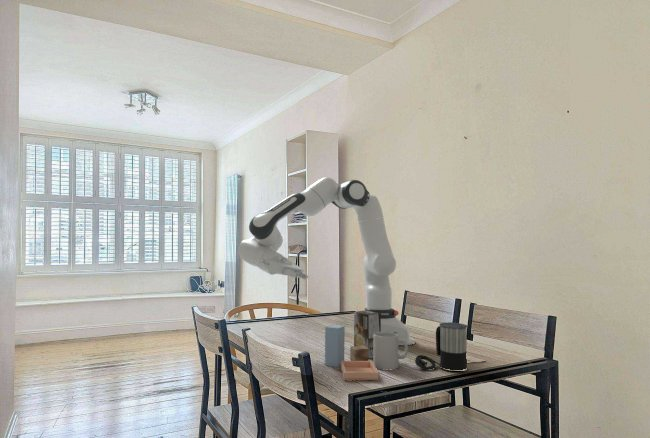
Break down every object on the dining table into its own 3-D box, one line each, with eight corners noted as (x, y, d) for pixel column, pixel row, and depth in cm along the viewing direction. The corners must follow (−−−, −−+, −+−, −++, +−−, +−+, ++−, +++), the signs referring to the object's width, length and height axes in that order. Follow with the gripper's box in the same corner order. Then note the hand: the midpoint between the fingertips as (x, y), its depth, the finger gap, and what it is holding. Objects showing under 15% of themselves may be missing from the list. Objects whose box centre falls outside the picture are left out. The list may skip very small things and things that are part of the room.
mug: (376, 370, 147) (376, 337, 148) (370, 363, 156) (370, 332, 156) (411, 370, 149) (411, 336, 149) (404, 363, 157) (404, 331, 158)
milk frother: (473, 370, 149) (473, 325, 150) (442, 377, 140) (442, 330, 141) (440, 360, 161) (440, 319, 162) (409, 367, 152) (409, 323, 153)
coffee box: (381, 356, 166) (381, 313, 167) (368, 359, 162) (368, 314, 163) (365, 351, 173) (365, 310, 174) (352, 353, 170) (353, 311, 171)
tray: (372, 368, 150) (372, 360, 150) (378, 380, 136) (378, 372, 136) (340, 368, 149) (340, 360, 150) (343, 380, 136) (343, 372, 136)
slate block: (331, 361, 158) (331, 324, 159) (344, 363, 156) (344, 326, 156) (324, 365, 153) (325, 327, 154) (337, 367, 151) (338, 328, 152)
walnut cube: (363, 359, 162) (363, 345, 162) (368, 363, 157) (368, 348, 157) (350, 360, 160) (350, 346, 161) (355, 364, 156) (355, 349, 156)
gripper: (262, 251, 165) (292, 266, 158) (288, 258, 183) (315, 271, 177) (255, 267, 164) (285, 282, 158) (282, 272, 183) (309, 286, 177)
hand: (301, 276), depth 168 cm, fingers open, 8 cm apart
